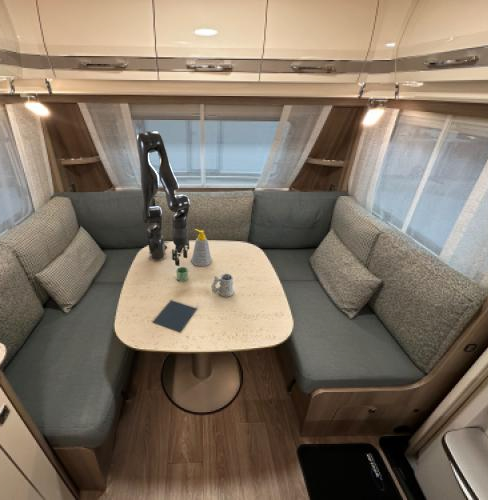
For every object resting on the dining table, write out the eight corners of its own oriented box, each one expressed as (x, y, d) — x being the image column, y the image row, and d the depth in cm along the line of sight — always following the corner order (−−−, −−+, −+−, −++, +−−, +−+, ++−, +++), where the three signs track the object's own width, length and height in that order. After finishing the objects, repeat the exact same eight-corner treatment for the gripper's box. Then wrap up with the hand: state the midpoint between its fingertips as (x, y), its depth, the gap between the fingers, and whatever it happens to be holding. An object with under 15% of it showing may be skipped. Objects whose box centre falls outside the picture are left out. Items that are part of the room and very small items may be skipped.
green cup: (180, 273, 152) (179, 265, 150) (189, 276, 150) (189, 268, 147) (174, 279, 147) (174, 271, 145) (184, 282, 145) (184, 274, 143)
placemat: (171, 300, 132) (171, 300, 132) (196, 308, 127) (196, 308, 127) (152, 322, 120) (152, 321, 120) (180, 332, 115) (180, 331, 115)
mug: (235, 295, 136) (237, 276, 130) (214, 300, 133) (214, 281, 127) (229, 286, 143) (230, 268, 137) (208, 291, 139) (209, 272, 133)
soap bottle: (199, 253, 172) (199, 224, 162) (215, 259, 166) (216, 230, 156) (187, 261, 163) (186, 232, 153) (203, 268, 157) (203, 238, 147)
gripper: (180, 227, 142) (181, 254, 150) (166, 238, 131) (168, 266, 139) (193, 230, 139) (193, 256, 147) (179, 241, 128) (181, 269, 136)
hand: (181, 261), depth 143 cm, fingers open, 8 cm apart
